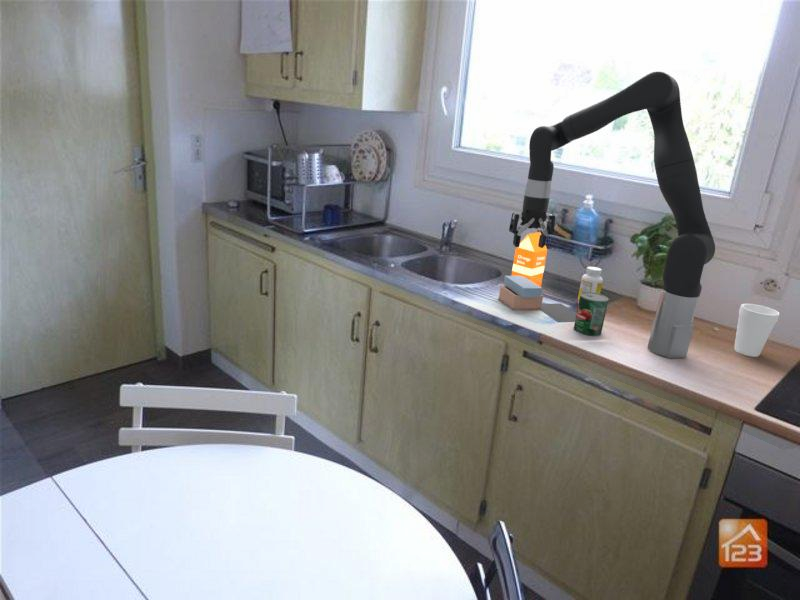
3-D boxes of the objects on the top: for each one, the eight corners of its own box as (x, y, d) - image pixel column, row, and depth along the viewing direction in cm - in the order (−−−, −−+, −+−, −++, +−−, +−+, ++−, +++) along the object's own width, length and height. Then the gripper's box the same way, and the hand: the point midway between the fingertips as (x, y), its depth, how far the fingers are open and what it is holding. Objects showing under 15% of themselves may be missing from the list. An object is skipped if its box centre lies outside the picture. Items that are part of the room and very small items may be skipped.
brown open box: (540, 310, 180) (543, 295, 178) (512, 311, 177) (514, 295, 175) (525, 299, 189) (527, 285, 187) (498, 300, 186) (500, 285, 184)
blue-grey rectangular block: (540, 297, 177) (542, 288, 176) (522, 297, 175) (523, 288, 174) (520, 284, 188) (522, 275, 187) (503, 284, 186) (504, 275, 185)
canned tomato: (606, 334, 165) (614, 298, 162) (591, 339, 160) (599, 302, 157) (582, 325, 171) (589, 290, 167) (567, 329, 166) (574, 294, 162)
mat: (589, 322, 173) (589, 321, 173) (557, 323, 170) (558, 322, 170) (560, 304, 188) (560, 303, 188) (531, 305, 184) (531, 303, 184)
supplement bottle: (594, 303, 193) (602, 266, 188) (599, 309, 186) (607, 272, 182) (574, 300, 193) (582, 264, 189) (578, 307, 187) (586, 269, 183)
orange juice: (540, 288, 204) (550, 234, 197) (527, 292, 197) (537, 236, 191) (522, 282, 208) (531, 229, 202) (509, 286, 202) (517, 231, 196)
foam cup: (731, 342, 168) (744, 301, 164) (767, 352, 162) (781, 310, 158) (725, 351, 161) (738, 308, 156) (762, 362, 155) (777, 317, 151)
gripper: (522, 196, 166) (514, 249, 171) (564, 198, 170) (555, 250, 176) (510, 192, 173) (502, 243, 178) (551, 194, 177) (542, 244, 182)
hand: (528, 247), depth 177 cm, fingers open, 8 cm apart
